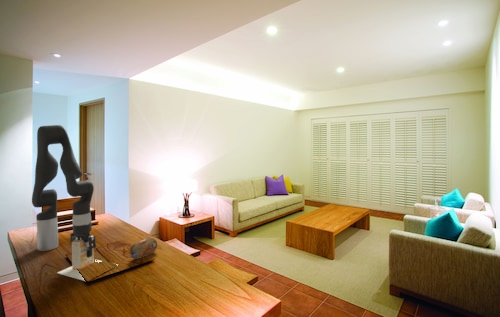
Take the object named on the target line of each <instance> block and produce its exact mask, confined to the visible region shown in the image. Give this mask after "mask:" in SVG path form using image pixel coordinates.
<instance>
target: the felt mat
mask: <svg viewBox="0 0 500 317" xmlns="http://www.w3.org/2000/svg"><path fill="white" fill-rule="evenodd" d="M94 259H95V258H94ZM96 260H97V261H96ZM102 261H103V260H99V259H95V262H98V263H99V262H102ZM115 264H116V263H115ZM116 265H117V267H119V266H118V265H119V264H116ZM56 274H58V275H61V276H64V277H65V276H66V277H69V278H73V279H76V280H78V281H79V280H80V281H82V282H86V281H85V280H84V278H83V277H82V275H81V274H80V273H79V271H78V270H76V269H72V265H71V266H69V267H67V268H64V269H62V270H60V271H58V272H56Z"/></svg>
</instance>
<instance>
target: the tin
mask: <svg viewBox="0 0 500 317" xmlns="http://www.w3.org/2000/svg"><path fill="white" fill-rule="evenodd" d="M157 246H158V242H157V240H156V239H155V238H150V237H148V238H144V239H142V240H140V241H137V242H134V243H132V245H131V246H130V248H129V256H130V257H131V258H132V259H134V260H136V259H138V258H140V257H143V256H145V257H147V256H150V255H153V254H154V253H155V251H156V250H157ZM143 258H144V257H143ZM138 260H139V259H138Z"/></svg>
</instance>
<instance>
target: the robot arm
mask: <svg viewBox="0 0 500 317" xmlns="http://www.w3.org/2000/svg"><path fill="white" fill-rule="evenodd" d="M36 139H37V140H36V142H37V145H36V148H37V153H36V162H35V170H34V171H35V172H34V173H35V174H34V185H33V190H32V195H31V204H32V206H33V207H34V208H45V207H48V208H46V209H45V210H43V211H41V212H38V213H37V214H36V216H35V218H36V244H37V245H36V246H37V251H39V252H46V251H51V250H55V249H56V248H58V247H59V228H58V192H57V190H56V189H45V187H47V186H48V185H49V184H51V183H52V181H54V179H55V178H56V177H57V175H58V169H59V168H60V169H61V172H62V174H63V176H64V177H65V183H66V184H65V185H66V191H67V192H66V193H68V195H69V196H70V197H73V198H78V197H80V199H78V200H76V201H74V202H73V203H72V232H71V233H70V235H69V236H70V242H69V244H70V246H72V242H73V241H76V240H80V241H83V245H84V246H85V247H86V249H87V257H88V258H89V257H91V256H92V249H93V248H94V249H95V248H96V247H97V244H96V242H97V241H96V235H95V234H94V235H91V234H90V232H92V215H91V202H92V198H93V195H94V191H95V190H94V189H95V186H94V184H93V182H92V181H90V180H87V179H86V180H79V181H77V180H78V179H80V178H81V177H82V176H83V171H82V169H81V168H80V165H79V163H78V162H77V159H76V156H75V153H74V150H73V147H72V145H71V140H70V138H69V135H68V131H67V130H66V128H65V127H64V126H63V125H61V124H60V125H59V124H55V125H54V124H53V125H42V126H39V127H38V128H37V133H36ZM59 144H60V145H61V147H62V153H61V155H60V156H61V157H60V160H59V163H58V160H57V159H56V158H55V157H54V156H53V155H52V154H51V152H50V151H49V145H59ZM87 242H89V243H87ZM92 244H93V245H92ZM88 245H89V247H88Z"/></svg>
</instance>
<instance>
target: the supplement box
mask: <svg viewBox="0 0 500 317" xmlns="http://www.w3.org/2000/svg"><path fill="white" fill-rule="evenodd" d="M87 243H89V242H87ZM92 245H93V244H92ZM88 247H89V245H88ZM94 259H95V248H93V249H92V256H91V257H89V258H88V257H87V249H86V247H85V246H84V245H83V241H80V240H76V241H74V240H73V242H72V245H71V266H72V269H76V270H77V269H82V268H84V267H86V266H88V265H90V264H92V263H94Z"/></svg>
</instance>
